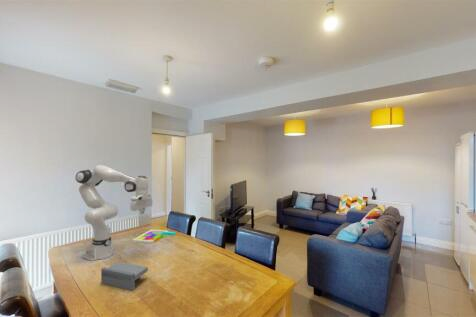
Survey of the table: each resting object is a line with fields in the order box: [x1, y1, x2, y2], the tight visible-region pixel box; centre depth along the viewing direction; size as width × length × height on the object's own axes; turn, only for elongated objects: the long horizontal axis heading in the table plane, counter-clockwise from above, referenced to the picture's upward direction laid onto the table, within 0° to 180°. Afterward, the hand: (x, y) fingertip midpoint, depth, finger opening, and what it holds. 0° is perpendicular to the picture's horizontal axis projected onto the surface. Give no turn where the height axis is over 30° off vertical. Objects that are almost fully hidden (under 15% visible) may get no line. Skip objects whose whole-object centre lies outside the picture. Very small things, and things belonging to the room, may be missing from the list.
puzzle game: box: [131, 229, 177, 245], centre depth 209 cm, size 30×3×30 cm
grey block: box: [100, 261, 149, 291], centre depth 135 cm, size 24×13×9 cm, turn 72°
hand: (142, 213), depth 168 cm, fingers closed
